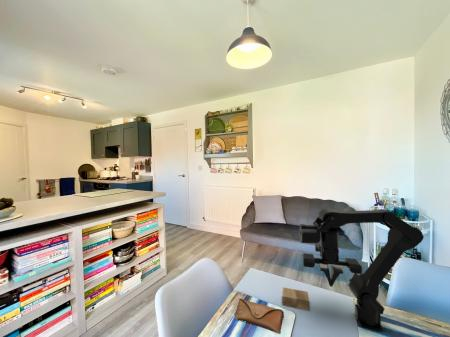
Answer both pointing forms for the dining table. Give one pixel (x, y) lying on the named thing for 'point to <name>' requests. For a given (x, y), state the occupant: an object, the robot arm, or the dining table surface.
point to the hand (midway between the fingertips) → (330, 285)
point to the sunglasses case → (260, 315)
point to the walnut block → (295, 298)
